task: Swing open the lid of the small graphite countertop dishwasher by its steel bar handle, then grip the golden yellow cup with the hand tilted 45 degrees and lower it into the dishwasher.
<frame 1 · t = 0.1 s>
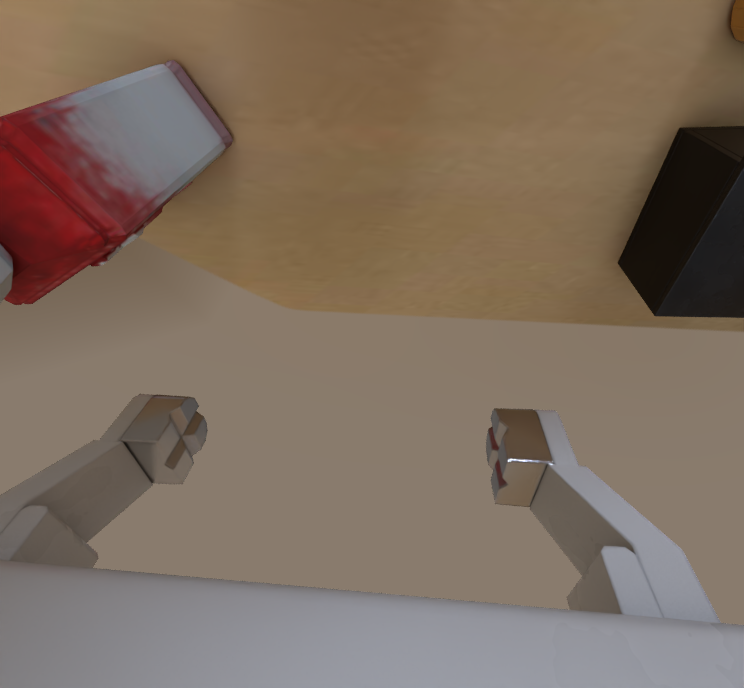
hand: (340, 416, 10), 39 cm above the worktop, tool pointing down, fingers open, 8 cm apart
bottle: (166, 135, 43), on the worktop
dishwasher: (709, 203, 43), on the worktop
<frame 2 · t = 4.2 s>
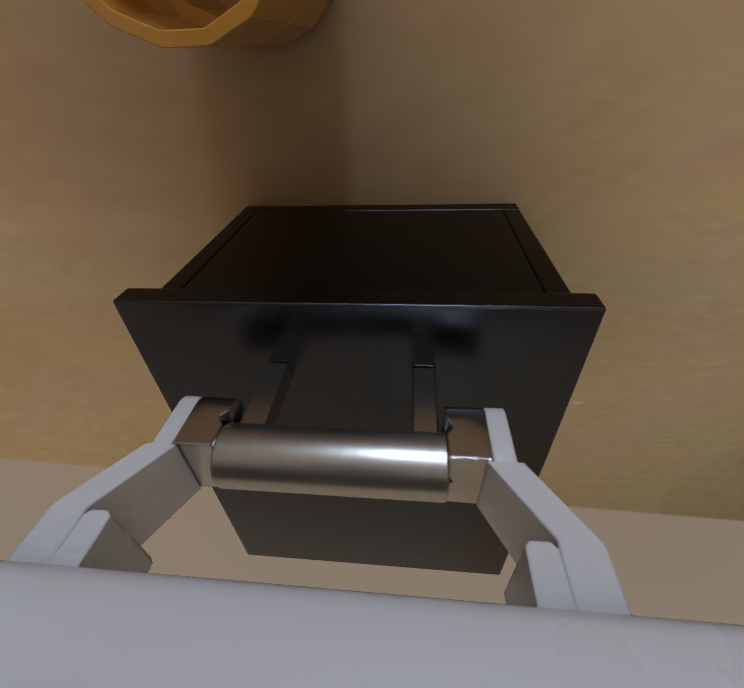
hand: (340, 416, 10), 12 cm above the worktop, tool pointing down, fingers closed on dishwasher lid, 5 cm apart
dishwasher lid: (356, 515, 14), point 12 cm above the worktop, hinge at -0.1°, touching gripper
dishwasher: (380, 330, 24), on the worktop
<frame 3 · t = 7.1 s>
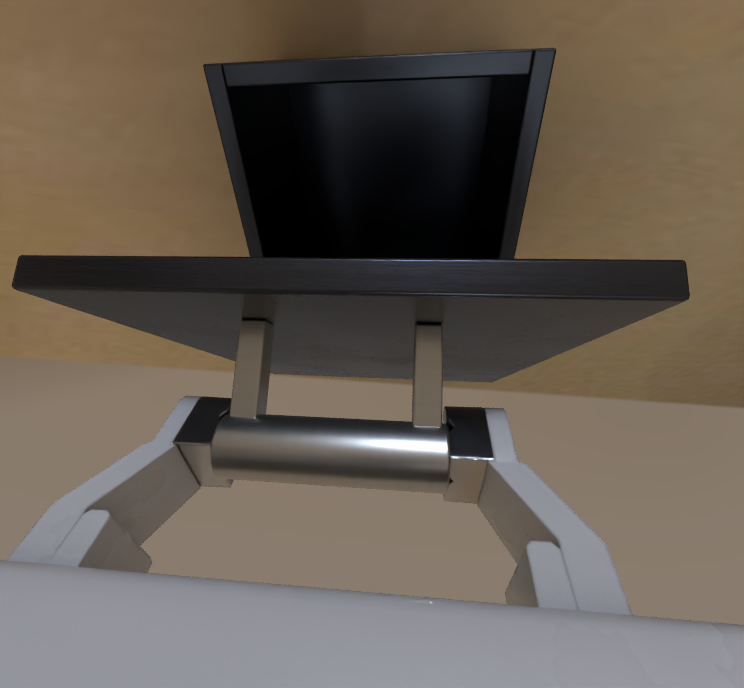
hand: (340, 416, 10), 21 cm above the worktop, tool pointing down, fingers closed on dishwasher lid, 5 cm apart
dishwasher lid: (363, 397, 15), point 17 cm above the worktop, hinge at 41.9°, touching gripper
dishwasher: (389, 193, 27), on the worktop
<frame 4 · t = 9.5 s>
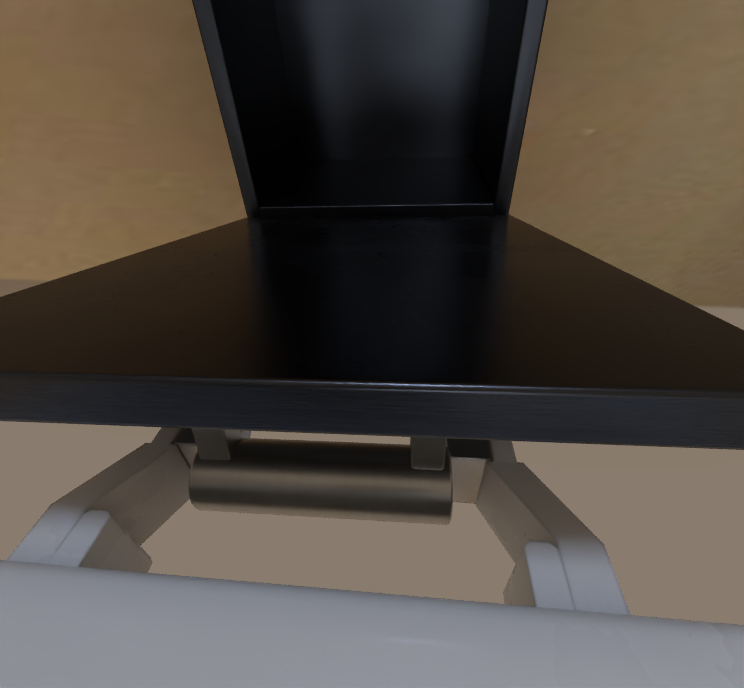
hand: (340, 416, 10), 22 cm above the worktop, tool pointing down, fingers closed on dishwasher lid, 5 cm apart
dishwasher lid: (354, 318, 13), point 19 cm above the worktop, hinge at 75.5°, touching gripper
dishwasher: (381, 27, 22), on the worktop
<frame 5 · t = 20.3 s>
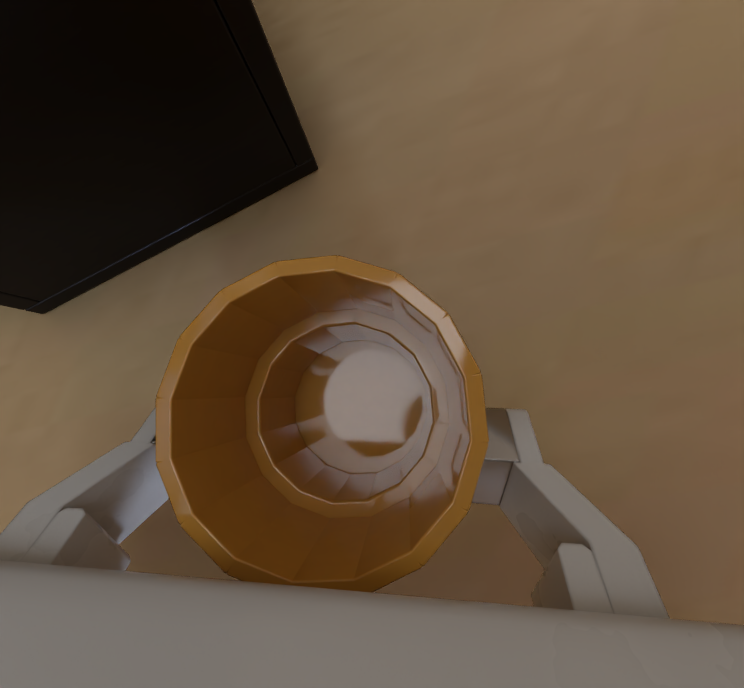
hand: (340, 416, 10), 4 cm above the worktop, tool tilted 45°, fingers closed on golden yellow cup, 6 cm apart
golden yellow cup: (361, 405, 15), on the worktop, touching gripper
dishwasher: (116, 100, 18), on the worktop
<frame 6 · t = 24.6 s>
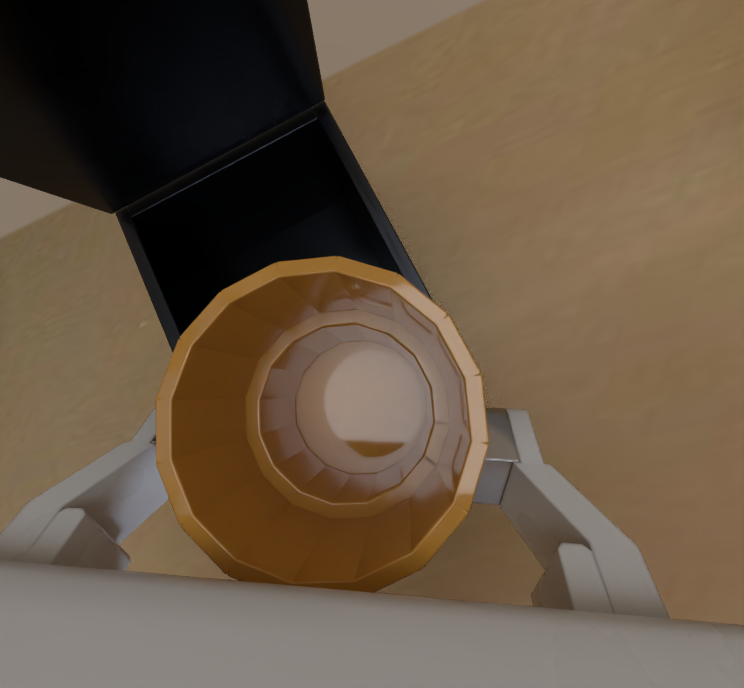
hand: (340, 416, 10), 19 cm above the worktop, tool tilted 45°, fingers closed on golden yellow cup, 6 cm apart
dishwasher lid: (91, 3, 13), point 19 cm above the worktop, hinge at 74.1°
golden yellow cup: (361, 405, 15), point 14 cm above the worktop, touching gripper
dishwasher: (317, 311, 30), on the worktop
when the fingers open (9 cm above the worktop, at t = 29.1 s): golden yellow cup drops 4 cm, resting on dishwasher.
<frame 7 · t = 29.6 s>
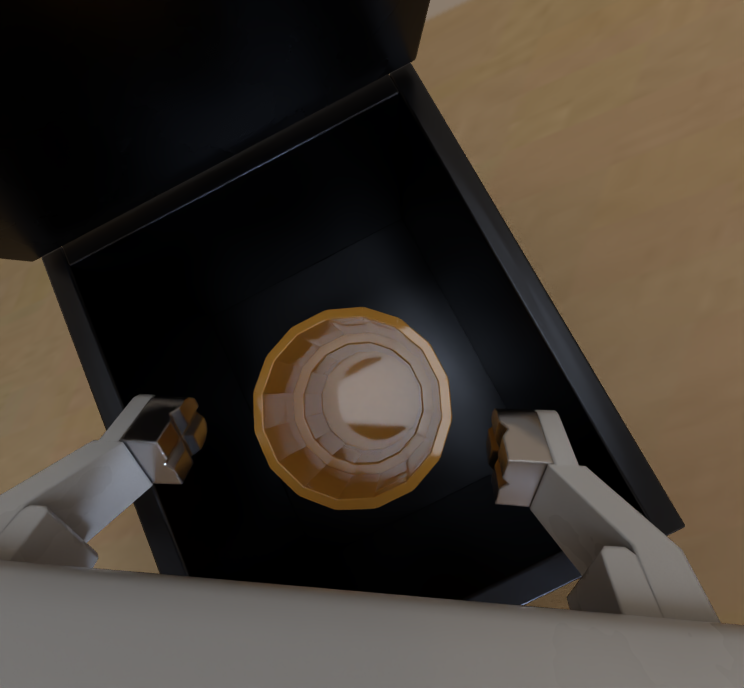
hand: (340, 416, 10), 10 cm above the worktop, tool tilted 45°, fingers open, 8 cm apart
golden yellow cup: (371, 399, 20), point 1 cm above the worktop, touching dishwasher
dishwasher: (362, 382, 21), on the worktop
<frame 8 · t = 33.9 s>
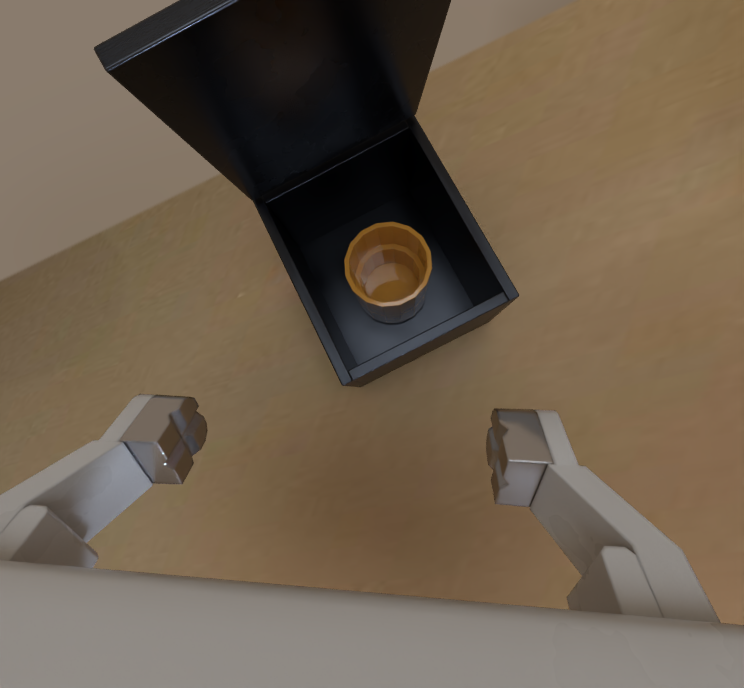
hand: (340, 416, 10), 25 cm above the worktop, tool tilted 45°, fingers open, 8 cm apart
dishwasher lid: (301, 56, 20), point 19 cm above the worktop, hinge at 74.1°
golden yellow cup: (391, 290, 36), point 1 cm above the worktop, touching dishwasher
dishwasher: (386, 283, 37), on the worktop
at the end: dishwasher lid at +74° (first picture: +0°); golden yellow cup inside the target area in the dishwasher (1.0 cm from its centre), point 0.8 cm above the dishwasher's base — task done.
